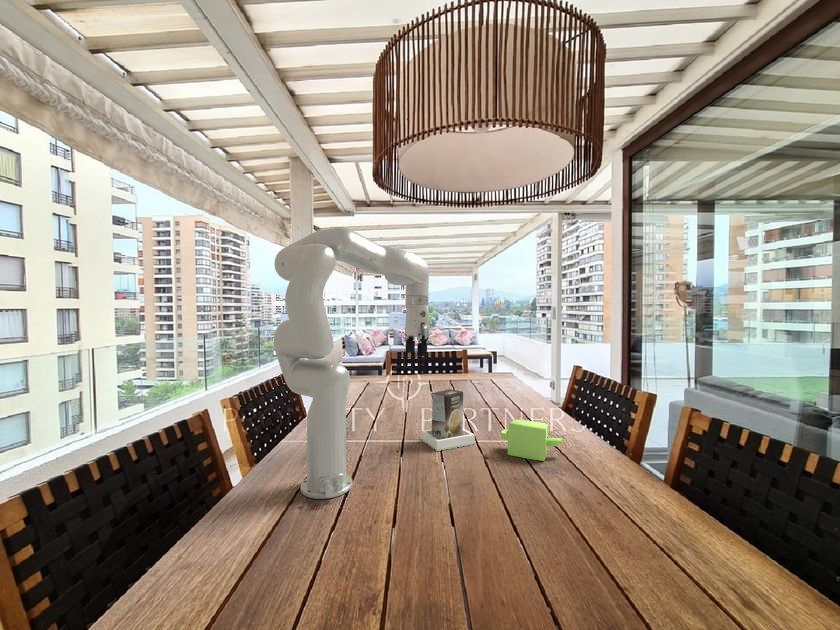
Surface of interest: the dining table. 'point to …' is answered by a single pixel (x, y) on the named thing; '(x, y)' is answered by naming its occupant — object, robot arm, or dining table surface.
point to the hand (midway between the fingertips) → (415, 354)
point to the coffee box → (447, 414)
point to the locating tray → (448, 440)
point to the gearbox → (528, 439)
